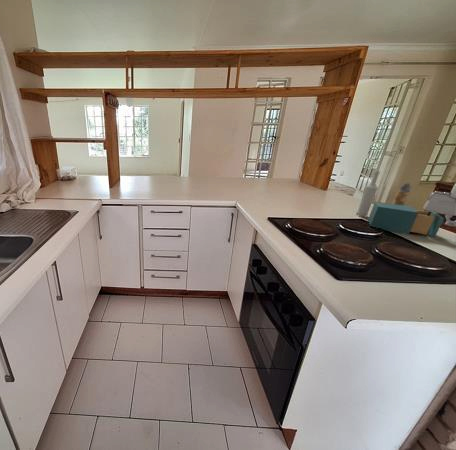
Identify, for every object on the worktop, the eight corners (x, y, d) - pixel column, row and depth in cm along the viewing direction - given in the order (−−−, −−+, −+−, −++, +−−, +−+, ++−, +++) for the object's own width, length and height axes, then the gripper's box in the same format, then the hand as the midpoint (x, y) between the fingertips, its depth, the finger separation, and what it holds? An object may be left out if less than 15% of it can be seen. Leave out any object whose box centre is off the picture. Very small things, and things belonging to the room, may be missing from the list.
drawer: (430, 230, 112) (439, 212, 109) (438, 237, 103) (448, 218, 100) (391, 223, 120) (398, 206, 117) (396, 230, 110) (403, 212, 107)
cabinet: (402, 226, 118) (411, 206, 114) (408, 234, 108) (418, 212, 104) (367, 220, 126) (374, 201, 122) (370, 227, 115) (378, 206, 112)
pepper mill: (397, 220, 128) (413, 182, 121) (398, 222, 124) (415, 184, 117) (385, 218, 131) (400, 181, 123) (386, 220, 127) (402, 182, 120)
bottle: (353, 213, 137) (368, 170, 129) (363, 214, 137) (379, 171, 128) (359, 216, 132) (375, 171, 124) (369, 217, 132) (386, 172, 123)
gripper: (433, 191, 102) (419, 221, 107) (509, 200, 91) (489, 233, 96) (428, 189, 107) (415, 218, 112) (500, 197, 96) (482, 229, 101)
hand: (450, 225), depth 104 cm, fingers closed
